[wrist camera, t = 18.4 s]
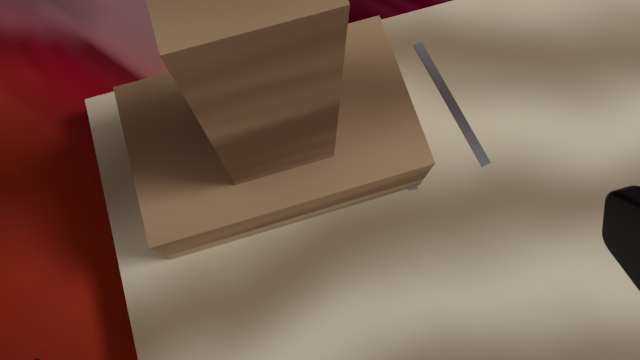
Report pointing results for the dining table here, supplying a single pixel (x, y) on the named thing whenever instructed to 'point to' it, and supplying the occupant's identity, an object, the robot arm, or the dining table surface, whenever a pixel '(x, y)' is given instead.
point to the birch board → (431, 212)
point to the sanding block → (265, 120)
